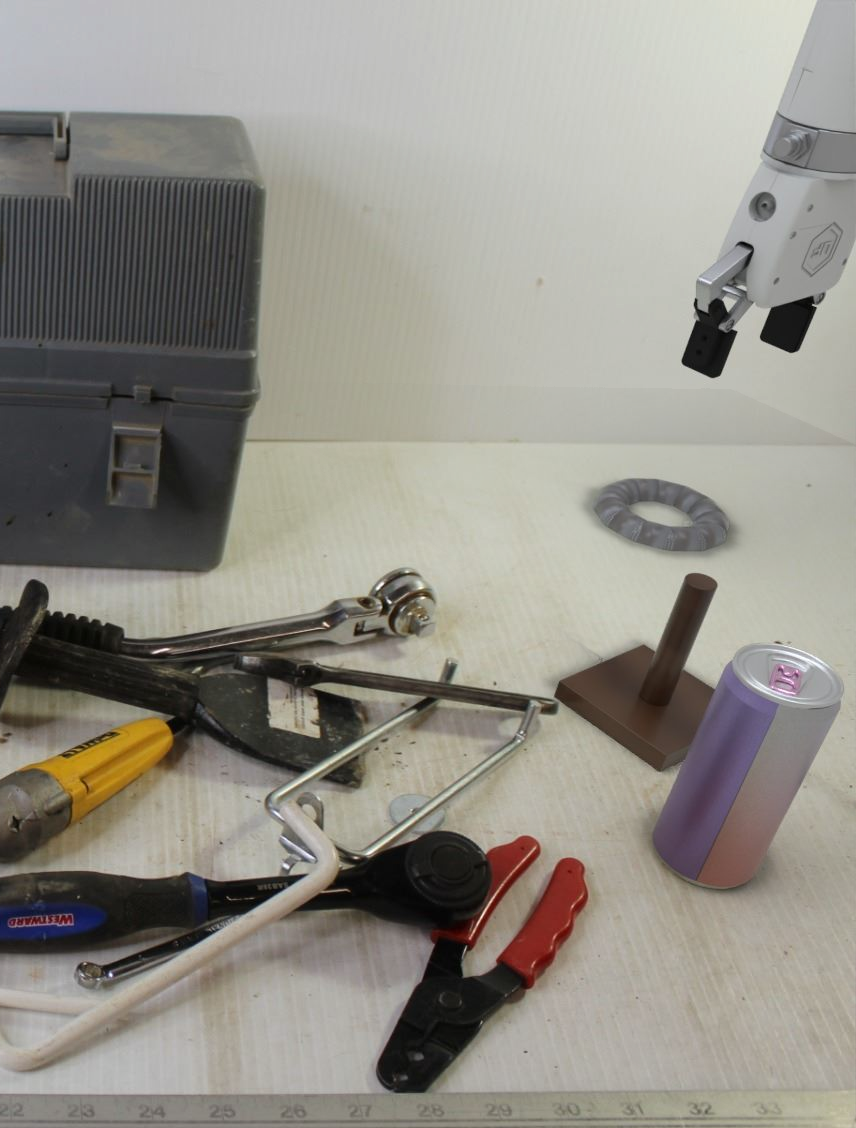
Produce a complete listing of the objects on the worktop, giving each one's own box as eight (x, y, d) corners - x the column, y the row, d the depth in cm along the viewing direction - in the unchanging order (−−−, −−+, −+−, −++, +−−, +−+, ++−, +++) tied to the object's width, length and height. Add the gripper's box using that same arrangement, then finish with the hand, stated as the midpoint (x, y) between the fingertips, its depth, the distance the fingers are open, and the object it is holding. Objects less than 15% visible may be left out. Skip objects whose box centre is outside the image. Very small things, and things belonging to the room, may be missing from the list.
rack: (637, 659, 100) (687, 531, 93) (745, 729, 93) (807, 597, 87) (553, 696, 96) (598, 565, 90) (659, 771, 90) (717, 636, 83)
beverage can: (639, 867, 83) (722, 681, 74) (658, 811, 87) (738, 628, 78) (744, 909, 80) (843, 721, 71) (759, 848, 84) (854, 663, 75)
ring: (644, 487, 120) (653, 462, 119) (748, 543, 113) (759, 517, 111) (564, 516, 116) (572, 491, 115) (666, 576, 109) (676, 550, 107)
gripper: (797, 177, 91) (710, 401, 101) (944, 142, 98) (849, 355, 108) (701, 146, 96) (627, 362, 106) (847, 115, 103) (765, 320, 113)
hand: (739, 358), depth 107 cm, fingers open, 9 cm apart
